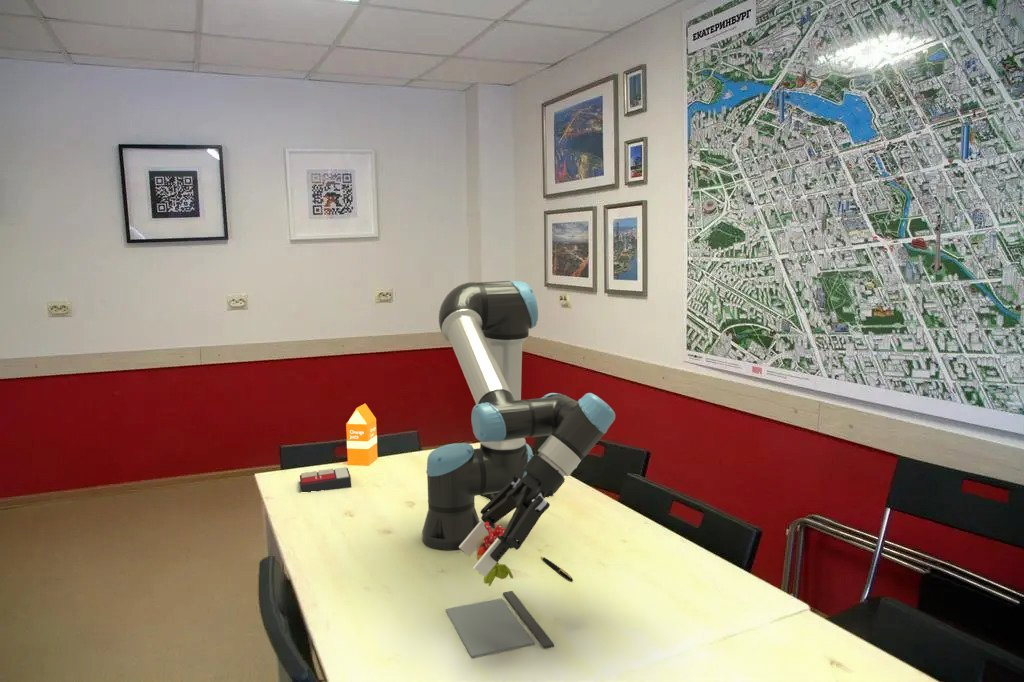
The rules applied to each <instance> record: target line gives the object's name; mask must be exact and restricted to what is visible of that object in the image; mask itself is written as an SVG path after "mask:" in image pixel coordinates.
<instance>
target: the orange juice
mask: <svg viewBox="0 0 1024 682" xmlns="http://www.w3.org/2000/svg"><path fill="white" fill-rule="evenodd" d="M345 427H346V428H345V429H346V431H345V432H346V449H347V451H346V452H347V466H357V467H358V466H362V467H365V466H367V467H368V466H370V465H372V464H373V463H374V462H375V461H377V460H378V435H377V434H378V433H377V418H376V417H375V415H374V414H373V412H372V411H371V410H370V408H369V407H368V405H367V404H366V403H364V404H362V405H359V406H358V407H356V408H355V410H354V411H353V413H352V415H351V416H350V418H349V420H348V421H347V422H346V423H345Z"/></svg>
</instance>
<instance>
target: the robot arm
mask: <svg viewBox="0 0 1024 682" xmlns="http://www.w3.org/2000/svg"><path fill="white" fill-rule="evenodd" d="M536 298H537V297H536V295H535V293H534V291H533V289H532V287H531V285H529V284H528V283H526V282H524V281H517V280H516V281H515V280H503V281H502V280H501V281H499V280H498V281H497V280H496V281H481V282H475V281H473V282H471V281H470V282H465V283H462V284H459V285H457V286H456V287H455V288H453V289H452V290H451V291H450V292H449V293H448V294H447V295H446V296H445V297H444V300H443V301H442V303H441V305H440V307H439V308H440V309H439V312H438V325H439V329H440V331H441V335H442V337H444V339H445V340H446V341H447V342H449V343H450V344H451V346H452V350H453V351H454V354H455V356H456V358H457V361H458V364H459V366H460V368H461V370H462V373H463V376H464V378H465V380H466V383H467V386H468V388H469V390H470V392H471V395H472V397H473V400H474V403H475V405H474V406H473V408H472V410H471V417H470V418H471V420H470V421H471V427H472V432H473V434H474V435H473V436H474V437H475V439H477V440H478V441H479V442H480V443H479V444H480V445H479V448H474V447H473V445H472V444H470V443H466V442H461V443H459V442H457V443H456V442H455V443H449V444H445V445H441V446H440V447H437V448H435V449H433V450H432V451H431V452H430V453H429V454H428V457H427V461H426V470H425V471H426V472H425V473H426V475H427V477H426V478H427V501H428V504H427V505H428V510H427V513H426V517H425V519H424V523H423V527H422V532H421V537H422V543H424V544H425V546H428V547H429V548H432V549H437V550H443V551H444V550H445V551H448V550H451V551H452V550H461V551H463V552H464V554H466V555H468V556H469V557H471V555H472V554H473V553H474V552H475V551H477V545H478V541H479V539H480V538H481V537H482V536H484V535H489V534H488V531H487V529H486V528H485V526H484V524H485V523H486V522H488V523H489V525H490V527H491V529H492V530H493V529H495V528H496V527H495V524H496V523H498V522H499V521H501V519H503V518H504V517H506V516H507V515H508V514H509V513H511V512H512V511H513V510H514V511H513V514H512V515H511V518H510V520H509V522H508V524H507V526H506V527H505V528H504V529H505V531H504V533H503V535H502V536H498V538H497V539H496V540H495V541H494V542H493V544H492V545H491V546H490V547H489V548H488V550H487V551H486V552H485V553H484V554H483V556H482V557H481V558H480V559H479V560H478V562H476V563H475V564H474V565H473V567H472V568H473V569H475V570H476V571H477V572H478V573H479V574H480V575H481V576H483V578H484V577H486V575H487V574H488V573H489V572H490V571H491V569H492V568H493V567H494V566H495V564H496V563H497V562H498V563H499V561H500V560H501V559H502V558H503V556H504V555H505V554H506V553H507V552H508V551H509V550H510V549H511V550H512V549H515V550H519V549H520V548H521V547H522V545H523V544H524V542H525V540H526V539H527V538H528V536H529V535H530V533H531V532H532V530H533V529H534V527H535V525H536V524H537V522H538V521H539V520H540V518H541V516H542V515H543V514H544V513H545V512H546V510H548V509H549V507H550V505H551V504H550V503H549V502H548V501H547V500H546V498H544V497H545V495H546V493H547V492H548V491H549V492H550V493H552V494H553V495H554V494H555V493H557V492H558V491H559V489H560V488H561V487H562V485H563V484H564V483H565V480H566V478H565V477H569V476H571V474H572V473H573V472H574V470H576V469H577V468H578V466H579V464H580V463H581V461H582V460H583V459H585V457H586V456H587V455H588V454H589V453H590V451H591V450H592V449H593V448H594V447H595V446H596V444H597V443H599V441H600V440H601V438H602V437H603V436H604V435H605V434H606V433H607V432H608V430H609V428H610V427H611V425H612V424H613V423H614V422H615V420H616V413H615V411H614V409H613V408H612V407H611V406H610V405H609V404H608V403H607V402H606V401H604V400H603V399H602V398H600V397H599V396H598V395H596V394H594V393H592V392H588V393H585V394H584V395H583V396H582V397H581V398H579V399H578V400H576V399H573V398H570V397H569V396H567V395H565V394H561V393H557V392H550V393H547V394H545V395H543V396H542V397H540V398H531V399H530V398H529V399H522V372H523V371H522V367H523V366H522V363H523V361H522V360H523V343H524V342H525V341H526V340H527V339H528V338H529V337H530V336H529V333H530V332H529V331H530V329H533V328H535V327H536V326H537V323H538V321H539V307H538V302H537V299H536ZM545 436H546V437H547V436H548V437H547V438H546V439H545V440H544V442H543V443H542V444H541V445H540V447H538V450H537V452H538V454H537V453H536V454H533V450H532V448H531V446H530V445H529V444H528V443H527V442H526V441H527V440H526V438H527V439H528V438H535V437H536V438H537V437H545ZM491 493H498V494H497V495H496V496H495V497H494V498H493V499H492V500H489V502H488V503H487V504H486V505H485V506H484V507H482V509H480V514H481V517H480V518H481V520H480V518H479V516H478V512H477V509H476V506H475V505H476V504H475V497H476V496H482V495H483V494H491Z"/></svg>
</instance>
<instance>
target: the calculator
mask: <svg viewBox="0 0 1024 682" xmlns="http://www.w3.org/2000/svg"><path fill="white" fill-rule="evenodd" d="M299 480H300V481H299V483H300V493H301V492H308V493H312V492H311V491H316V492H322V491H321V490H324V491H330V490H335V489H336V490H341V489H342V490H343V489H348V488H352V479H351V475H350V471H349V468H348V467H346V466H344V467H338V468H335V469H334V468H328V469H321V470H318V471H316V470H314V471H308V472H303V473H301V474H299Z"/></svg>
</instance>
